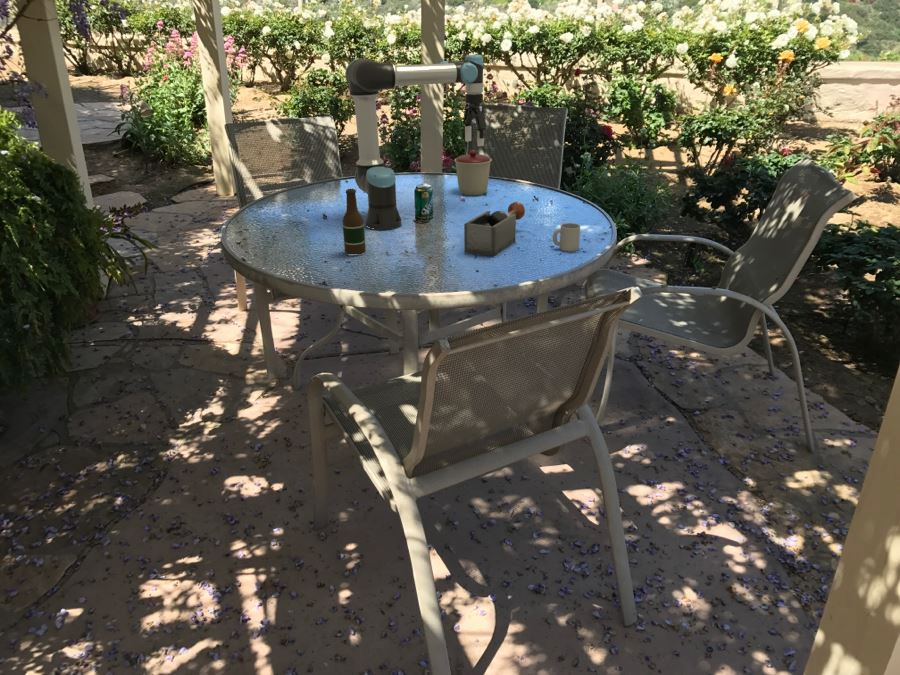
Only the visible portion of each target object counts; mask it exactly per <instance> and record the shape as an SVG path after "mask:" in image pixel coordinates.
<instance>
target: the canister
mask: <svg viewBox="0 0 900 675" xmlns="http://www.w3.org/2000/svg"><path fill="white" fill-rule="evenodd" d="M468 153H469V154H462V155H459V156H457V157H455V159H454V161H453V162H455V168H456V169H455V170H456V177H457V184H458V190H459V192H460V193H461V194H462V195H463V194H464V196H468V195H470V196H471V197H474V196H475V197H476V195H478V196H481V195H485V194H486V193H487V190H488V185H489V179H490V169H491V162H492V161H493V159H492V158H490V157H489V156H488V155H485V154H477V150H475V149H470V150H469V152H468Z"/></svg>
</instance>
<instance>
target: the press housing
mask: <svg viewBox="0 0 900 675" xmlns="http://www.w3.org/2000/svg"><path fill="white" fill-rule="evenodd" d="M490 216H491V211H490V210H486V211H484V212H482V213H481V214H479V215H477V216H475V217H474V218H472V219H471V220H468V221H467V222H465V223H463V226H464V227H463V228H464V232H463V233H464V235H463V236H464V237H463V238H464V240H463V241H464V247H463V248H464V253H465V252H467V253H466V254H470V253H473V254H472V255H477V254H479V255H478V256H485V257H492V258H495V257H496V256H497V255H499V254H500V253H502V252H503V251H505V250H507V249H508V248H509V247H510V246H511V245H513V244H515V243H516V230H517V229H516V228H517V227H516V225H517V224H516V223H517V220H516V214H512V215H510V216H509V217H507V218H505V219H504V220H502V221H501V222H499V223H497V224H496V225H494V226H490V224H489V218H490ZM504 249H505V250H504ZM501 251H502V252H501ZM498 253H499V254H498ZM494 256H495V257H494Z"/></svg>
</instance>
